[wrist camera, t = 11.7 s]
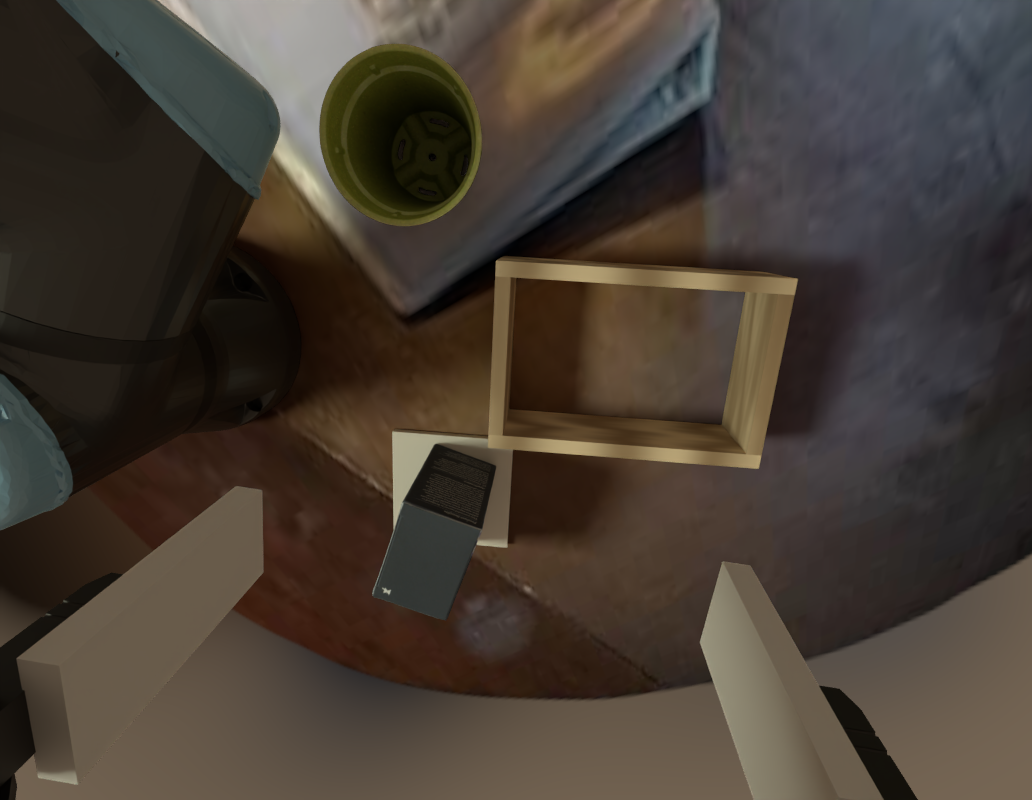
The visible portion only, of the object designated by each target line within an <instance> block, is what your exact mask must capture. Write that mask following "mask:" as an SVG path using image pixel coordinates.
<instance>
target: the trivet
mask: <svg viewBox="0 0 1032 800" xmlns="http://www.w3.org/2000/svg"><path fill="white" fill-rule="evenodd" d="M392 439H393V510H394V528H395V525H396V522H397V518H398V515H399V511H400V508H401V503H402V502H403V500H404V498H405V497H406V495H407V493H408V491H409V490H410V488H411V486H412V484H413V482H414V480H415V479H416V477H417V475H418V473H419V471H420V470H421V468H422V466H423V464H424V462H425V461H426V459H427V457H428V455H429V453H430V451H431V450H432V448H433V446H434V444H439V445H442V446H444V447H447V448H450V449H453V450H455V451H458V452H461V453H463V454H466V455H469V456H472V457H474V458H477V459H480V460H482V461H485V462H488V463H491V464H493V465H496V471H495V476H494V480H493V485H492V489H491V493H490V498H489V502H488V506H487V511H486V515H485V519H484V524H483V529H482V532H481V535H480V537H479V539H478V542H477V545H483V546H495V547H506V548H507V545H508V529H509V512H510V495H511V477H512V460H513V450H511V449H498V448H488V436H479V435H466V434H453V433H440V432H427V431H414V430H401V429H394V430H393V431H392Z"/></svg>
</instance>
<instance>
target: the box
mask: <svg viewBox="0 0 1032 800" xmlns="http://www.w3.org/2000/svg"><path fill="white" fill-rule="evenodd" d="M495 471H496V465H493V464H491V463H488V462H485V461H482V460H480V459H477V458H474V457H472V456H469V455H466V454H463V453H461V452H458V451H455V450H453V449H450V448H447V447H444V446H442V445H439V444H434V446H433V448H432V450H431V451H430V453H429V455H428V457H427V459H426V461H425V462H424V464H423V466H422V468H421V470H420V471H419V473H418V475H417V477H416V479H415V480H414V482H413V484H412V486H411V488H410V490H409V491H408V493H407V495H406V497H405V498H404V500H403V502H402V503H401V508H400V511H399V515H398V518H397V522H396V525H395V528H394V531H393V534H392V538H391V541H390V544H389V547H388V550H387V553H386V556H385V558H384V561H383V565H382V567H381V570H380V573H379V576H378V579H377V581H376V584H375V587H374V589H373V592H372V594H373V597H375V598H379V599H382V600H386V601H388V602H391V603H394V604H397V605H400V606H403V607H406V608H408V609H411V610H414V611H417V612H420V613H423V614H426V615H429V616H432V617H435V618H439V619H442V620H447V618H448V616H449V613H450V611H451V608H452V605H453V603H454V600H455V598H456V595H457V593H458V590H459V588H460V585H461V583H462V580H463V577H464V575H465V573H466V570H467V568H468V565H469V562H470V560H471V557H472V555H473V552H474V550H475V547H476V545H477V542H478V539H479V537H480V535H481V532H482V529H483V524H484V519H485V515H486V511H487V506H488V502H489V498H490V493H491V489H492V485H493V480H494V476H495Z"/></svg>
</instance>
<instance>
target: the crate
mask: <svg viewBox="0 0 1032 800" xmlns="http://www.w3.org/2000/svg"><path fill="white" fill-rule="evenodd" d="M516 278H530V279H546V280H562V281H578V282H594V283H610V284H626V285H641V286H657V287H673V288H689V289H705V290H721V291H737V292H745V297H744V303H743V309H742V314H741V320H740V325H739V331H738V336H737V342H736V347H735V353H734V359H733V364H732V370H731V375H730V381H729V386H728V392H727V397H726V403H725V409H724V414H723V420H722V425H717V424H704V423H690V422H677V421H663V420H650V419H636V418H623V417H609V416H596V415H582V414H569V413H555V412H542V411H529V410H515V409H509V405H510V387H511V369H512V350H513V332H514V314H515V295H516ZM797 281H798V279H796V278H791V277H786V276H781V275H777V274H772V273H767V272H760V271H743V270H727V269H710V268H694V267H677V266H661V265H644V264H628V263H611V262H595V261H578V260H562V259H545V258H529V257H512V256H503V257H501V258H500V259H498V260H496V271H495V295H494V318H493V341H492V365H491V388H490V411H489V435H488V448H498V449H511V450H524V451H537V452H550V453H562V454H575V455H588V456H601V457H614V458H627V459H640V460H652V461H665V462H678V463H691V464H704V465H717V466H729V467H742V468H755V469H759V464H760V460H761V455H762V450H763V445H764V440H765V436H766V431H767V426H768V421H769V416H770V411H771V407H772V402H773V397H774V392H775V387H776V382H777V378H778V373H779V368H780V363H781V358H782V354H783V349H784V344H785V339H786V334H787V329H788V325H789V320H790V315H791V310H792V305H793V300H794V296H795V291H796V286H797Z"/></svg>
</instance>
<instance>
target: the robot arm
mask: <svg viewBox="0 0 1032 800" xmlns="http://www.w3.org/2000/svg"><path fill="white" fill-rule="evenodd" d="M279 134H280V117H279V112H278V109H277V107H276V104H275V102H274V100H273V98H272V97H271V95H270V94H269V92H268V91H267V90H266V89H265V88H264V87H263V86H262V85H261V84H260V83H259V82H258V81H257V80H256V79H255V78H254V77H252V76H251V75H250V74H249V73H248V72H246V71H245V70H244V69H243V68H242V67H240V66H239V65H238V64H237V63H236V62H234V61H233V60H232V59H231V58H229V57H228V56H227V55H226V54H224V53H223V52H222V51H221V50H219V49H218V48H217V47H216V46H214V45H213V44H212V43H211V42H209V41H208V40H207V39H206V38H204V37H203V36H202V35H201V34H199V33H198V32H197V31H196V30H194V29H193V28H192V27H191V26H189V25H188V24H187V23H186V22H184V21H183V20H182V19H180V18H179V17H178V16H177V15H175V14H174V13H173V12H171V11H170V10H169V9H168V8H166V7H165V6H164V5H163V4H161V3H160V2H159V1H158V0H0V530H2V529H4V528H7V527H9V526H11V525H14V524H16V523H19V522H21V521H23V520H26V519H28V518H31V517H33V516H35V515H38V514H40V513H42V512H45V511H49V510H52V509H54V508H56V507H58V506H60V505H62V504H63V502H65V501H67V499H68V497H70V496H72V495H74V494H76V493H77V492H79V491H81V490H83V489H85V488H86V487H88V486H90V485H92V484H93V483H95V482H97V481H99V480H101V479H102V478H104V477H106V476H108V475H110V474H111V473H113V472H115V471H117V470H118V469H120V468H122V467H124V466H126V465H127V464H129V463H131V462H133V461H135V460H136V459H138V458H140V457H142V456H143V455H145V454H147V453H149V452H151V451H152V450H154V449H156V448H158V447H160V446H161V445H163V444H165V443H167V442H168V441H170V440H172V439H174V438H175V437H177V436H179V435H181V434H187V433H199V432H210V431H221V430H227V429H232V428H235V427H239V426H241V425H244V424H246V423H249V422H251V421H253V420H254V419H256V418H258V417H259V416H261V415H262V414H264V413H266V412H267V411H269V410H270V409H272V408H273V407H274V406H275V405H277V404H278V403H279V402H280V401H281V400H282V398H283V397H284V396H285V395H286V393H287V392H288V391H289V389H290V387H291V386H292V384H293V382H294V379H295V377H296V374H297V371H298V368H299V363H300V356H301V338H300V331H299V325H298V321H297V318H296V315H295V312H294V309H293V307H292V305H291V303H290V300H289V298H288V297H287V295H286V293H285V291H284V290H283V288H282V287H281V285H280V284H279V283H278V281H277V280H276V279H275V278H274V277H273V275H272V274H271V273H270V272H269V271H268V270H267V269H266V268H265V267H264V266H263V265H262V264H261V263H259V262H258V261H257V260H256V259H254V258H253V257H252V256H250V255H249V254H247V253H245V252H244V251H242V250H240V249H238V248H236V247H234V246H233V244H234V242H235V240H236V238H237V236H238V234H239V231H240V229H241V227H242V225H243V223H244V221H245V219H246V217H247V215H248V212H249V210H250V208H251V206H252V204H253V202H254V200H255V199H257V200H258V199H259V198H260V195H261V187H260V183H261V181H262V178H263V176H264V173H265V171H266V168H267V166H268V163H269V161H270V158H271V156H272V153H273V150H274V148H275V145H276V143H277V140H278V138H279ZM262 573H263V512H262V490H258V489H251V488H245V487H238V486H236V487H235V488H233V489H232V490H231V491H229V492H228V493H227V494H226V495H224V496H223V497H222V498H220V499H219V500H218V501H217V502H215V503H214V504H213V505H212V506H210V507H209V508H208V509H206V510H205V511H204V512H203V513H201V514H200V515H199V516H198V517H196V518H195V519H194V520H192V521H191V522H190V523H189V524H187V525H186V526H185V527H184V528H182V529H181V530H180V531H178V532H177V533H176V534H175V535H173V536H172V537H171V538H169V539H168V540H167V541H166V542H164V543H163V544H162V545H161V546H159V547H158V548H157V549H155V550H154V551H153V552H152V553H151V554H149V555H148V556H147V557H145V558H144V559H143V560H141V561H140V562H139V563H138V564H137V565H135V566H134V567H133V568H131V569H130V570H129V571H128V572H126V573H125V574H124V575H123V574H116V573H110V574H108V575H105V576H103V577H101V578H99V579H96V580H94V581H92V582H90V583H88V584H86V585H84V586H82V587H81V588H80V589H78V590H77V591H76V592H74V593H73V594H72V595H70V596H69V597H68V598H66V599H65V600H64V601H63V603H62V604H58V605H57V606H56V607H54V608H53V609H51V610H50V611H49V612H47V613H46V615H45V617H41V618H39V619H38V620H37V621H35V622H34V623H33V624H31V625H30V626H28V627H27V628H26V629H24V630H23V631H22V632H20V633H19V634H18V635H16V636H15V637H14V638H13V639H11V640H10V641H8V642H7V643H6V644H4V645H3V646H2V647H0V800H15V798H16V790H17V784H16V779H15V774H14V773H15V772H16V771H17V770H18V769H19V768H20V767H21V766H22V765H23V764H24V763H25V762H26V761H27V760H28V759H29V758H30V757H31V756H32V755H33V754H34V757H35V762H36V768H37V773H38V778H42V779H48V780H54V781H59V782H66V783H71V784H76V785H77V784H79V783H80V782H81V780H82V779H83V778H84V777H85V776H86V775H87V774H88V773H89V771H90V770H91V769H92V768H93V767H94V766H95V764H96V763H97V762H98V761H99V760H100V759H101V758H102V756H103V755H104V754H105V753H106V752H107V751H108V750H109V748H110V747H111V746H112V745H113V744H114V743H115V742H116V740H117V739H118V738H119V737H120V736H121V735H122V734H123V732H124V731H125V730H126V729H127V728H128V727H129V725H130V724H131V723H132V722H133V721H134V720H135V719H136V718H137V716H138V715H139V714H140V713H141V712H142V711H143V710H144V708H145V707H146V706H147V705H148V704H149V703H150V702H151V700H152V699H153V698H154V697H155V696H156V695H157V693H158V692H159V691H160V690H161V689H162V688H163V687H164V686H165V684H166V683H167V682H168V681H169V680H170V679H171V677H172V676H173V675H174V674H175V673H176V672H177V671H178V669H179V668H180V667H181V666H182V665H183V664H184V663H185V661H186V660H187V659H188V658H189V657H190V656H191V655H192V653H193V652H194V651H195V650H196V649H197V648H198V647H199V645H200V644H201V643H202V642H203V641H204V640H205V639H206V637H207V636H208V635H209V634H210V633H211V632H212V630H213V629H214V628H215V627H216V626H217V625H218V624H219V622H220V621H221V620H222V619H223V618H224V617H225V616H226V614H227V613H228V612H229V611H230V610H231V609H232V608H233V606H234V605H235V604H236V603H237V602H238V601H239V600H240V598H241V597H242V596H243V595H244V594H245V593H246V592H247V590H248V589H249V588H250V587H251V586H252V585H253V584H254V582H255V581H256V580H257V579H258V578H259V577H260V576H261V574H262ZM700 644H701V647H702V650H703V653H704V656H705V659H706V662H707V664H708V667H709V670H710V673H711V676H712V679H713V682H714V685H715V688H716V691H717V694H718V697H719V700H720V702H721V706H722V709H723V712H724V714H725V717H726V720H727V723H728V726H729V729H730V732H731V735H732V738H733V741H734V744H735V746H736V750H737V753H738V755H739V758H740V761H741V764H742V767H743V770H744V773H745V776H746V779H747V782H748V785H749V788H750V791H751V794H752V797H753V800H918V799H917V798H916V796H915V795H914V793H913V791H912V790H911V788H910V787H909V785H908V783H907V782H906V780H905V779H904V777H903V775H902V774H901V772H900V771H899V769H898V768H897V766H896V764H895V763H894V761H893V760H892V758H891V757H890V756H888V755H887V750H886V748H885V747H884V745H883V744H882V742H881V741H880V739H879V737H877V736H875V731H874V729H873V728H872V726H871V725H870V723H869V721H868V720H867V718H866V717H865V715H864V714H863V712H862V710H861V709H860V708H859V707H858V706H857V705H856V704H855V703H854V702H853V701H852V700H851V699H849V698H848V697H847V696H846V695H845V694H844V693H843V692H842V691H841V690H840V689H837V688H831V687H825V686H819V685H818V684H817V682H816V680H815V678H814V677H813V675H812V673H811V671H810V670H809V668H808V666H807V664H806V662H805V661H804V659H803V657H802V655H801V654H800V652H799V650H798V648H797V647H796V645H795V643H794V641H793V640H792V638H791V636H790V634H789V633H788V631H787V629H786V627H785V626H784V624H783V622H782V620H781V619H780V617H779V615H778V613H777V612H776V610H775V608H774V606H773V605H772V603H771V601H770V599H769V598H768V596H767V594H766V592H765V591H764V589H763V587H762V585H761V583H760V582H759V580H758V578H757V576H756V575H755V573H754V571H753V569H752V568H751V566H749V565H743V564H736V563H730V562H722V565H721V569H720V572H719V576H718V580H717V583H716V587H715V590H714V594H713V597H712V601H711V604H710V608H709V612H708V615H707V619H706V622H705V626H704V629H703V633H702V636H701V640H700Z"/></svg>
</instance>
